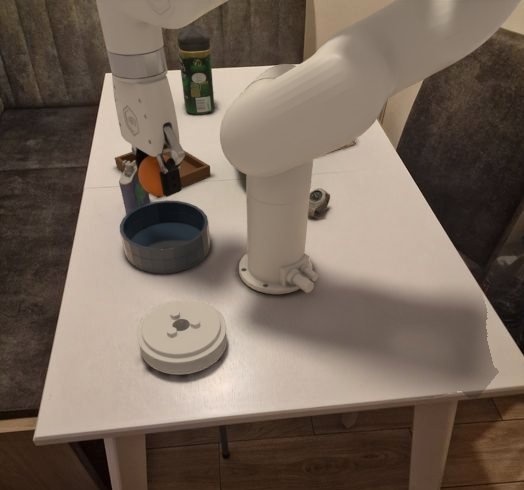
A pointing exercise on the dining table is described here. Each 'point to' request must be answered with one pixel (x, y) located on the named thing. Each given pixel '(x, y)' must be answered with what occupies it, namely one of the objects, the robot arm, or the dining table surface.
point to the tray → (188, 170)
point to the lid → (182, 336)
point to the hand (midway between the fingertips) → (160, 184)
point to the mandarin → (151, 175)
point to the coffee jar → (196, 69)
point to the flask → (132, 188)
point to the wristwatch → (318, 202)
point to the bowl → (165, 236)
